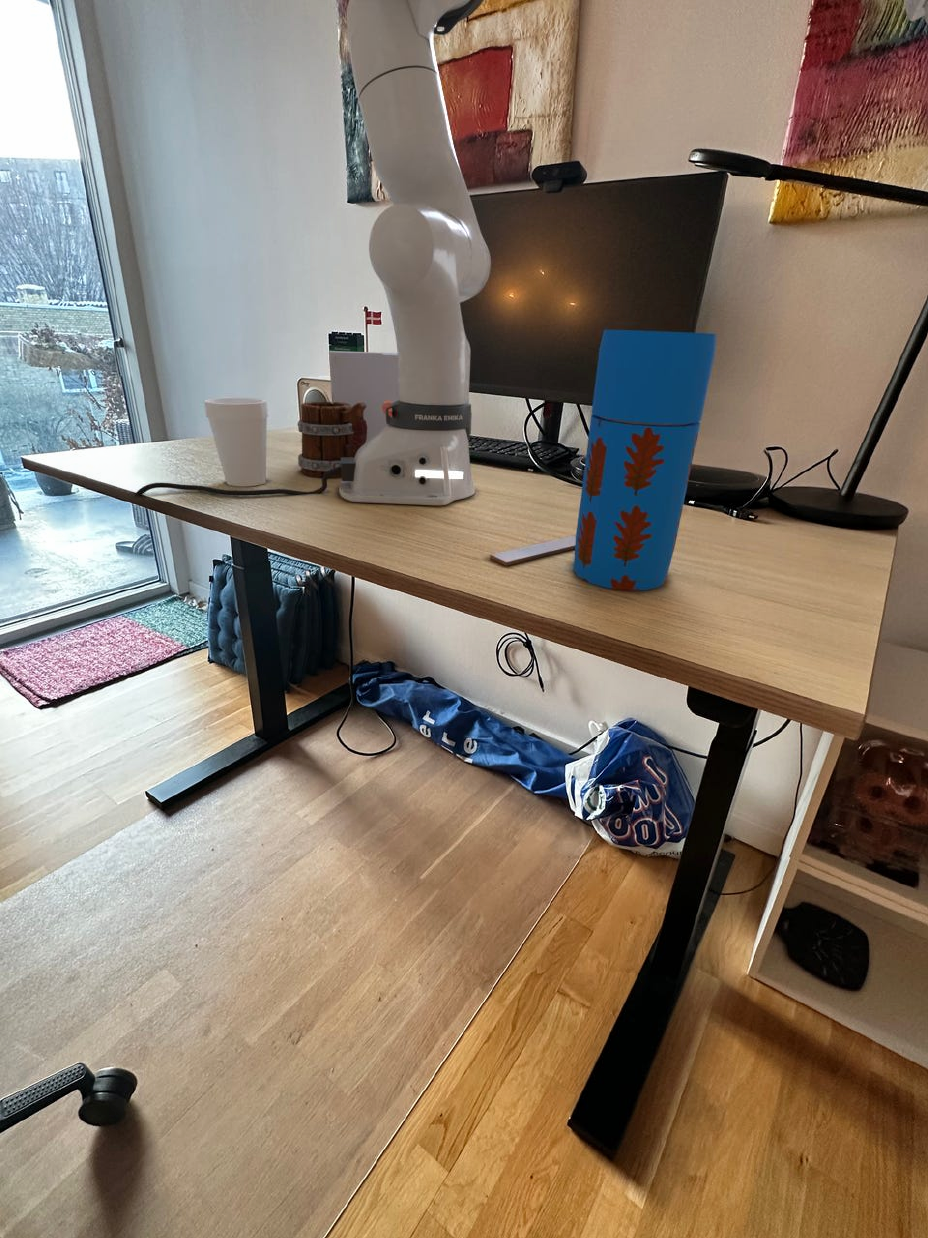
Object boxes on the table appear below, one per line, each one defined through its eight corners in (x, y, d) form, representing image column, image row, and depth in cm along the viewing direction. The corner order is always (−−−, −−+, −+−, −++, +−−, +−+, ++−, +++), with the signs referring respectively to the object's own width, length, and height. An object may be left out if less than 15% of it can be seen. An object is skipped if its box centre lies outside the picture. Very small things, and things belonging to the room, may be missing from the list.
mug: (328, 459, 116) (333, 381, 108) (381, 483, 110) (390, 402, 102) (281, 468, 107) (282, 383, 99) (336, 495, 101) (342, 407, 93)
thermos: (672, 596, 61) (728, 333, 50) (570, 585, 63) (602, 329, 52) (661, 561, 71) (707, 334, 60) (573, 552, 73) (601, 330, 62)
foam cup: (234, 474, 103) (223, 396, 97) (284, 477, 102) (276, 399, 96) (205, 486, 95) (192, 402, 89) (259, 490, 94) (249, 405, 88)
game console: (467, 458, 124) (471, 356, 115) (337, 460, 117) (331, 351, 108) (459, 452, 129) (463, 354, 120) (335, 455, 122) (328, 350, 113)
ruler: (506, 566, 68) (506, 562, 67) (489, 558, 70) (490, 554, 70) (663, 526, 84) (663, 523, 84) (646, 521, 86) (646, 518, 86)
